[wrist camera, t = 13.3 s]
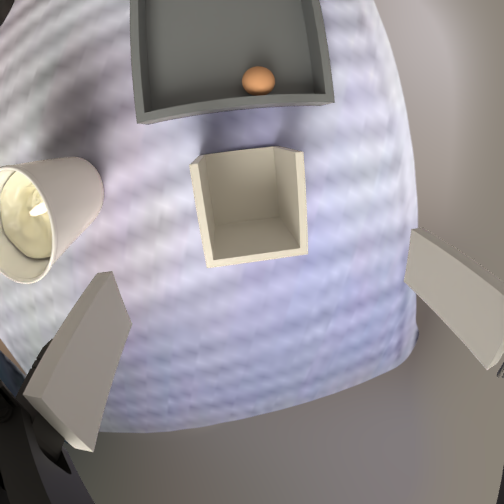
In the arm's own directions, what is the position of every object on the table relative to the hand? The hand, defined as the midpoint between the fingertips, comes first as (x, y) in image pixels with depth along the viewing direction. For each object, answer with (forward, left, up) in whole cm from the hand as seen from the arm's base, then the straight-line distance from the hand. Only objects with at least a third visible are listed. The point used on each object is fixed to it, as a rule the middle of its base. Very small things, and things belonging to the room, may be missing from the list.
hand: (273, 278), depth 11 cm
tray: (-17, 0, -19) cm, 25 cm away
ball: (-11, +3, -16) cm, 20 cm away
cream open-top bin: (0, 0, -19) cm, 19 cm away
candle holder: (-3, -19, -19) cm, 27 cm away
